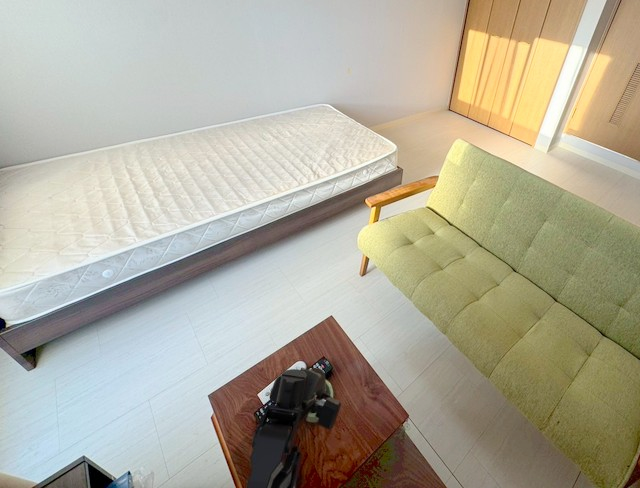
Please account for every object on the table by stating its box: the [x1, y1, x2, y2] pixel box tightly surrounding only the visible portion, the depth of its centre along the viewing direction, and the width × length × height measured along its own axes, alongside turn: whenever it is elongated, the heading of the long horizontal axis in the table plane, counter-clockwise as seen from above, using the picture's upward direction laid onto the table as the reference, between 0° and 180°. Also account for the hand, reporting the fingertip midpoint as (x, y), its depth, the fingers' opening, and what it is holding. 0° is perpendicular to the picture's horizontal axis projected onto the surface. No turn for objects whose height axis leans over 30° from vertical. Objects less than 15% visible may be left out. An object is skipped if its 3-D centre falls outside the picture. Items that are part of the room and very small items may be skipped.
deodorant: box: [310, 367, 327, 413], centre depth 86 cm, size 6×6×15 cm
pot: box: [305, 379, 334, 423], centre depth 90 cm, size 10×10×4 cm
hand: (317, 387), depth 87 cm, fingers closed on deodorant, 6 cm apart
